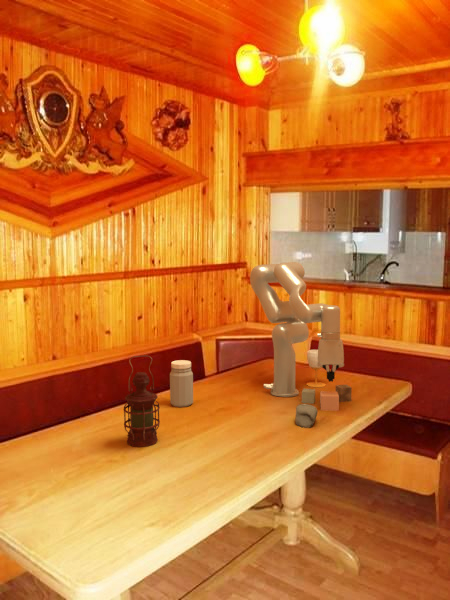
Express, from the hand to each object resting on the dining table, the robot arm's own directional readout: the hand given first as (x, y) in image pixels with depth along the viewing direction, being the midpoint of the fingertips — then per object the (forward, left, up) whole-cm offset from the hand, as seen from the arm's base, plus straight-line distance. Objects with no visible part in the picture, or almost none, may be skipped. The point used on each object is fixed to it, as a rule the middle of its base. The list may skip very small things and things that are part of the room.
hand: (330, 380), depth 228 cm
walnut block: (+7, +12, -12) cm, 18 cm away
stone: (-11, -19, -12) cm, 25 cm away
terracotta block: (0, 0, -12) cm, 12 cm away
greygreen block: (-8, +8, -12) cm, 16 cm away
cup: (-3, +36, -12) cm, 38 cm away
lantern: (-67, -44, -12) cm, 81 cm away
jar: (-61, 0, -12) cm, 62 cm away
